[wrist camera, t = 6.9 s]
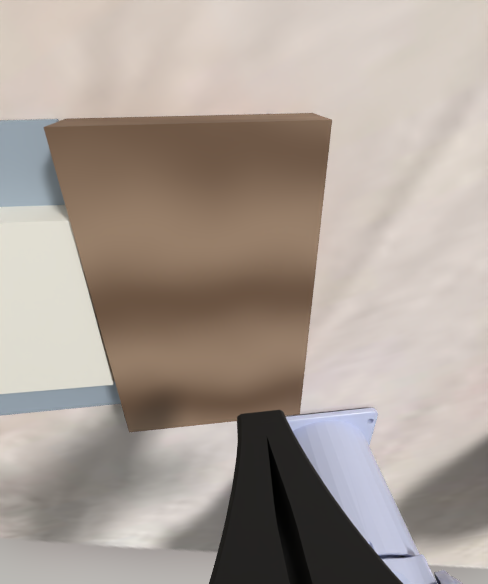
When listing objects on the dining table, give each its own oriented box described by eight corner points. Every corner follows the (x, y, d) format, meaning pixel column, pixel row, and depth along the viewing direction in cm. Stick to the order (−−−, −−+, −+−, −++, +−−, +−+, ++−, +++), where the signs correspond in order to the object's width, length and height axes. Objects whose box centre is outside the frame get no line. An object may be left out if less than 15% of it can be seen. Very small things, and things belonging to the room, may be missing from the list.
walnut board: (290, 383, 23) (299, 414, 21) (135, 398, 22) (129, 432, 20) (312, 113, 15) (331, 119, 13) (66, 118, 14) (43, 127, 12)
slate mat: (130, 399, 22) (129, 402, 22) (-8, 412, 22) (-10, 416, 21) (58, 119, 14) (55, 120, 14) (-173, 124, 13) (-179, 125, 13)
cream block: (119, 358, 20) (113, 384, 19) (8, 367, 20) (-10, 394, 18) (83, 204, 16) (69, 220, 14) (-66, 208, 15) (-99, 226, 13)
